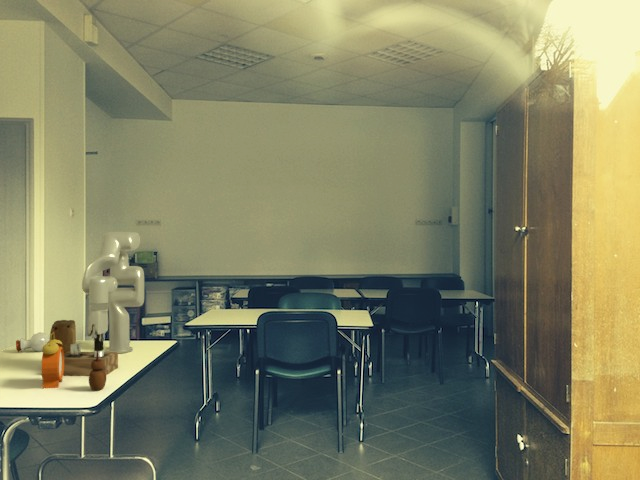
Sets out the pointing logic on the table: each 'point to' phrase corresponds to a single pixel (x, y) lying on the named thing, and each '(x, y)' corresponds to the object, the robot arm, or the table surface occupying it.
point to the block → (64, 333)
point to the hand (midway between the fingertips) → (98, 350)
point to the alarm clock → (52, 364)
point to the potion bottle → (33, 342)
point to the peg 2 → (99, 353)
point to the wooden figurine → (97, 374)
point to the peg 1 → (75, 349)
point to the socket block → (88, 363)
